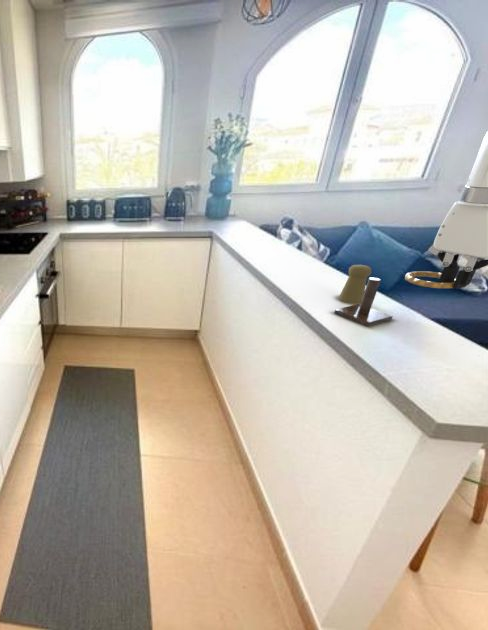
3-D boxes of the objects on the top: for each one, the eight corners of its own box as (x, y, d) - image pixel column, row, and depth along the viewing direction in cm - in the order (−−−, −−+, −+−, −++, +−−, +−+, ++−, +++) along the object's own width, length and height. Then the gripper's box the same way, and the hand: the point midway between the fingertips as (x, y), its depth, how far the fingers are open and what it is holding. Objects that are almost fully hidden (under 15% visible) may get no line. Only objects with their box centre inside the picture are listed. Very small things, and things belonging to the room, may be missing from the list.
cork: (367, 303, 103) (379, 268, 98) (345, 303, 104) (356, 269, 99) (355, 296, 108) (366, 262, 103) (334, 296, 109) (344, 262, 104)
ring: (421, 273, 81) (423, 268, 81) (470, 284, 74) (472, 279, 73) (394, 279, 79) (396, 274, 79) (442, 292, 72) (444, 286, 71)
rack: (357, 307, 101) (369, 271, 96) (391, 319, 93) (406, 281, 89) (334, 313, 99) (345, 276, 94) (367, 326, 91) (381, 287, 86)
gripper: (566, 197, 59) (516, 294, 67) (451, 190, 73) (420, 272, 81) (540, 202, 58) (491, 302, 66) (427, 195, 71) (398, 278, 79)
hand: (452, 285), depth 73 cm, fingers closed on ring, 1 cm apart
